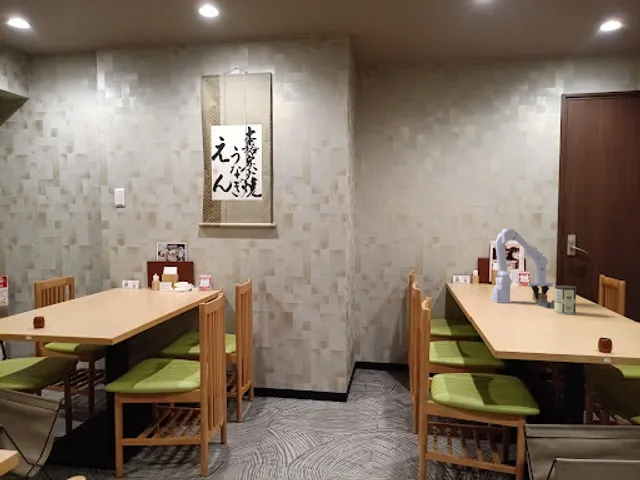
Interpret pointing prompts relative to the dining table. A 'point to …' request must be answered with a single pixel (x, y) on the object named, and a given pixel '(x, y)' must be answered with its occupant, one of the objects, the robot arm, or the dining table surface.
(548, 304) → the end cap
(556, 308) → the coffee can
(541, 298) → the brown rectangular block
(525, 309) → the dining table surface
